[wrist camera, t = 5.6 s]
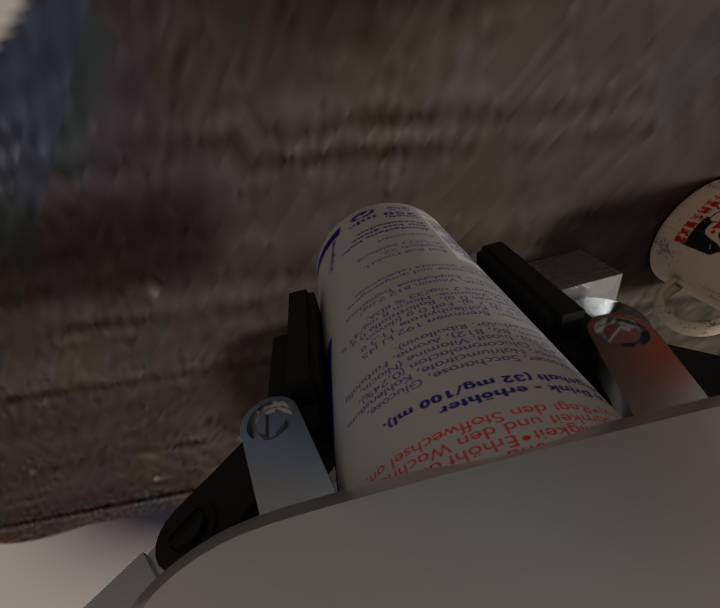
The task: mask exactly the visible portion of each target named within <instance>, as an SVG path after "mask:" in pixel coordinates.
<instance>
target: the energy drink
mask: <svg viewBox="0 0 720 608" xmlns="http://www.w3.org/2000/svg"><path fill="white" fill-rule="evenodd" d="M317 283H318V293H319V303H320V313H321V322H322V332H323V342H324V353H325V363H326V373H327V383H328V394H329V404H330V418H331V428H332V438H333V449H334V459H335V470H336V480H337V490H338V492H339V491H343V490H346V489H350V488H354V487H357V486H361V485H365V484H369V483H373V482H376V481H380V480H384V479H388V478H392V477H396V476H399V475H403V474H407V473H411V472H415V471H419V470H422V469H428V468H435V467H442V466H449V465H457V464H462V463H467V462H472V461H477V460H483V459H488V458H493V457H498V456H503V455H506V454H510V453H514V452H518V451H522V450H525V449H529V448H533V447H537V446H541V445H544V444H546V443H549V442H552V441H555V440H558V439H561V438H564V437H566V436H569V435H572V434H575V433H577V432H579V431H581V430H584V429H586V428H588V427H590V426H594V425H598V424H602V423H606V422H610V421H614V420H618V419H622V417H621V416H620V415H619V414H618V413H617V412H616V410H615V409H614V408H613V407H612V406H611V405H610V404H609V403H608V402H607V401H606V400H605V399H604V398H603V397H602V396H601V395H600V394H599V393H598V391H597V390H596V389H595V388H594V387H593V386H592V385H591V384H590V383H589V382H588V381H587V380H586V379H585V378H584V377H583V376H582V375H581V374H580V372H579V371H578V370H577V369H576V368H575V367H574V366H573V365H572V364H571V363H570V362H569V361H568V360H567V359H566V358H565V357H564V356H563V355H562V353H561V352H560V351H559V350H558V349H557V348H556V347H555V346H554V345H553V344H552V343H551V342H550V341H549V340H548V339H547V338H546V337H545V336H544V334H543V333H542V332H541V331H540V330H539V329H538V328H537V327H536V326H535V325H534V324H533V323H532V322H531V321H530V320H529V319H528V318H527V317H526V315H525V314H524V313H523V312H522V311H521V310H520V309H519V308H518V307H517V306H516V305H515V304H514V303H513V302H512V301H511V300H510V299H509V298H508V296H507V295H506V294H505V293H504V292H503V291H502V290H501V289H500V288H499V287H498V286H497V285H496V284H495V283H494V282H493V281H492V280H491V279H490V277H489V276H488V275H487V274H486V273H485V272H484V271H483V270H482V269H481V268H480V267H479V266H478V265H477V264H476V263H475V262H474V261H473V260H472V258H471V257H470V256H469V255H468V254H467V253H466V252H465V251H464V250H463V249H462V248H461V247H460V246H459V245H458V244H457V243H456V242H455V241H454V239H453V238H452V237H451V236H450V235H449V234H448V233H447V232H446V231H445V230H444V229H443V228H442V227H441V226H440V225H439V224H438V223H437V221H436V220H435V219H434V218H432V217H431V216H430V215H428V214H427V213H425V212H424V211H423V210H420V209H418V208H415V207H413V206H411V205H406V204H400V203H381V204H376V205H372V206H367V207H365V208H363V209H360V210H358V211H356V212H354V213H352V214H351V215H349V216H348V217H346V218H345V219H343V220H342V221H341V222H340V223H339V224H338V225H337V226H336V227H335V228H334V229H333V230H332V231H331V232H330V234H329V235H328V237H327V238H326V240H325V241H324V243H323V246H322V248H321V251H320V253H319V256H318V262H317Z"/></svg>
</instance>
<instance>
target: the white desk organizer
mask: <svg viewBox="0 0 720 608" xmlns="http://www.w3.org/2000/svg"><path fill="white" fill-rule="evenodd" d="M528 264H530V265H531V266H532V267H533V268H534V269H536V270H537V271H538V272H539V273H541V274H542V275H543V276H544V277H545V278H547V279H548V280H549V281H550V282H552V283H553V284H554V285H555V286H556V287H558V288H559V289H560V290H561V291H563V292H564V293H565V294H566V295H567V296H569V297H570V298H571V299H572V300H574V301H575V302H576V303H577V304H578V305H580V306H581V307H582V308H583V309H585V312H586V313H588V314H589V315H590V316H591V317H592V318H593V317H596V316H598V315H602V314H609V313H611V314H623V315H628V316H632V317H635V318H638V319H640V320H642V321H644V322H646V323H648V324H649V325H650V323H649V321H648V320H647V318H646V317H645V316H644V315H643V314H642V313H640V312H639V311H637V310H636V309H634V308H632V307H630V306H628V305H626V304H623V303H620V302H617V301H616V297H617V293H618V290H619V286H620V283H621V279H622V275H623V273H621V272H619V271H618V270H616V269H614V268H612V267H611V266H609V265H607V264H605V263H603V262H602V261H600V260H598V259H596V258H594V257H593V256H591V255H589V254H587V253H585V252H584V251H582V250H580V249H579V250H575V251H571V252H567V253H564V254H560V255H556V256H552V257H549V258H545V259H541V260H537V261H533V262H530V263H528ZM650 326H651V325H650Z"/></svg>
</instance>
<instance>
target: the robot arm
mask: <svg viewBox="0 0 720 608" xmlns="http://www.w3.org/2000/svg"><path fill="white" fill-rule="evenodd" d="M477 265H478V266H479V267H480V268H481V269H482V270H483V271H484V272H485V273H486V274H487V275H488V276H489V277H490V279H491V280H492V281H493V282H494V283H495V284H496V285H497V286H498V287H499V288H500V289H501V290H502V291H503V292H504V293H505V294H506V295H507V296H508V298H509V299H510V300H511V301H512V302H513V303H514V304H515V305H516V306H517V307H518V308H519V309H520V310H521V311H522V312H523V313H524V314H525V315H526V317H527V318H528V319H529V320H530V321H531V322H532V323H533V324H534V325H535V326H536V327H537V328H538V329H539V330H540V331H541V332H542V333H543V334H544V336H545V337H546V338H547V339H548V340H549V341H550V342H551V343H552V344H553V345H554V346H555V347H556V348H557V349H558V350H559V351H560V352H561V353H562V355H563V356H564V357H565V358H566V359H567V360H568V361H569V362H570V363H571V364H572V365H573V366H574V367H575V368H576V369H577V370H578V371H579V372H580V374H581V375H582V376H583V377H584V378H585V379H586V380H587V381H588V382H589V383H590V384H591V385H592V386H593V387H594V388H595V389H596V390H597V391H598V393H599V394H600V395H601V396H602V397H603V398H604V399H605V400H606V401H607V402H608V403H609V404H610V405H611V406H612V407H613V408H614V409H615V410H616V412H617V413H618V414H619V415H620V416H621V417H622V419H618V420H614V421H610V422H606V423H602V424H598V425H594V426H590V427H588V428H586V429H584V430H581V431H579V432H577V433H575V434H572V435H569V436H566V437H564V438H561V439H558V440H555V441H552V442H549V443H546V444H544V445H541V446H537V447H533V448H529V449H525V450H522V451H518V452H514V453H510V454H506V455H503V456H498V457H493V458H488V459H483V460H477V461H472V462H467V463H462V464H457V465H449V466H442V467H435V468H428V469H422V470H419V471H415V472H411V473H407V474H403V475H399V476H396V477H392V478H388V479H384V480H380V481H376V482H373V483H369V484H365V485H361V486H357V487H354V488H350V489H346V490H343V491H339V492H336V489H335V487H334V485H333V483H332V481H331V478H330V476H329V473H330V472H331V470H332V469H333V468H334V466H335V459H334V449H333V438H332V428H331V418H330V404H329V394H328V383H327V373H326V363H325V353H324V342H323V332H322V322H321V313H320V310H319V307H318V303H317V300H316V297H315V294H314V292H311V293H308V292H307V290H306V289H305V290H301V291H297V292H293V293H290V294H289V311H288V334H287V335H283V336H278V337H275V338H274V341H273V350H272V361H271V372H270V383H269V394H268V398H267V399H265V400H262V401H261V402H259V403H258V404H256V405H255V406H254V407H252V408H251V409H250V410H249V411H248V413H247V414H246V416H245V417H244V419H243V421H242V424H241V438H242V443H241V444H240V445H239V446H238V447H237V448H236V449H235V450H234V451H233V452H232V453H231V454H230V455H229V456H228V457H227V458H226V459H225V460H224V461H223V462H222V463H221V465H220V466H219V467H218V468H217V469H216V470H215V471H214V472H213V473H212V474H211V475H210V476H209V477H208V478H207V479H206V480H205V481H204V482H203V483H202V484H201V485H200V486H199V487H198V488H197V489H196V490H195V491H194V492H193V493H192V494H191V495H190V496H189V497H188V498H187V499H186V500H185V501H184V502H183V503H182V504H181V505H180V506H179V507H178V508H177V509H176V510H175V511H174V512H173V514H172V515H171V516H170V517H169V519H168V520H167V521H166V522H165V524H164V526H163V528H162V530H161V531H160V533H159V536H158V539H157V543H156V546H155V548H154V549H152V551H150V552H149V553H148V554H147V555H146V554H145V553H143V552H142V553H141V554H140V555H139V556H138V557H137V558H136V559H135V560H134V561H132V563H130V564H129V565H128V566H127V567H126V568H125V569H124V570H123V571H122V572H121V573H120V574H119V575H118V576H117V577H116V578H115V579H113V580H112V582H110V583H109V584H108V585H107V586H106V587H105V588H104V589H103V590H102V591H101V592H100V593H99V594H98V595H97V596H96V597H94V599H92V600H91V601H90V602H89V603H88V604H87V605H86V606H85V607H84V608H720V356H718V355H713V354H709V353H704V352H700V351H695V350H691V349H686V348H682V347H677V346H673V345H668V344H666V343H665V342H664V340H663V339H662V338H661V336H660V335H659V334H658V333H657V331H656V330H655V329H654V328H653V327H652V326H650V325H649V324H648V323H646V322H644V321H642V320H640V319H638V318H635V317H632V316H628V315H623V314H611V313H609V314H602V315H598V316H596V317H593V318H592V317H591V316H590V315H589V314H588V313H586V312H585V309H583V308H582V307H581V306H580V305H578V304H577V303H576V302H575V301H574V300H572V299H571V298H570V297H569V296H567V295H566V294H565V293H564V292H563V291H561V290H560V289H559V288H558V287H556V286H555V285H554V284H553V283H552V282H550V281H549V280H548V279H547V278H545V277H544V276H543V275H542V274H541V273H539V272H538V271H537V270H536V269H534V268H533V267H532V266H531V265H530V264H528V263H527V262H526V261H525V260H523V259H522V258H521V257H520V256H519V255H517V254H516V253H515V252H514V251H512V250H511V249H510V248H509V247H508V246H506V245H505V244H504V243H502V242H497V243H493V244H489V245H485V246H483V247H482V249H481V251H478V253H477Z"/></svg>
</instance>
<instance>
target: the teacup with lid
mask: <svg viewBox="0 0 720 608" xmlns="http://www.w3.org/2000/svg"><path fill="white" fill-rule="evenodd" d="M650 265H651V269H652V271H653V273H654V274H655V275H656V276H657V277H658V278H659V279H660V280H662V281H664V282H665V283H664V284H663V285H662V286H661V287H660V288H659V289H658V290H657V292H656V294H655V296H654V307H655V310H656V313H657V315H658V317H659V318H660V320H661V321H662V322H663V323H664V324H665V325H666V326H668V327H669V328H671V329H672V330H674V331H676V332H678V333H681V334H684V335H688V336H712V335H716V334H720V316H718V317H716V318H713V319H710V320H706V321H688V320H684V319H682V318H679V317H678V316H676V315H674V314H673V313H672V312H671V311H670V310H669V309H668V307H667V302H668V300H669V299H670V298H671V297H672V296H673V295H674V294H675V293H676V292H678V291H679V290H681V291H683V292H685V293H687V294H689V295H691V296H693V297H695V298H697V299H699V300H701V301H703V302H705V303H707V304H708V305H710V306H712V307H714V308H716V309H718V310H720V179H719V180H716V181H714V182H711V183H709V184H707V185H705V186H704V187H702V188H700V189H699V190H697V191H695V192H694V193H693V194H691V195H690V196H689V197H687V198H686V199H685V200H684V201H683V202H682V203H681V204H679V205H678V206H677V207H676V208H675V209H674V211H673V212H672V213H671V214H670V215H669V216H668V218H667V219H666V220H665V222H664V223H663V224H662V226H661V228H660V229H659V231H658V233H657V235H656V237H655V239H654V241H653V244H652V247H651V252H650Z"/></svg>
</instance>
